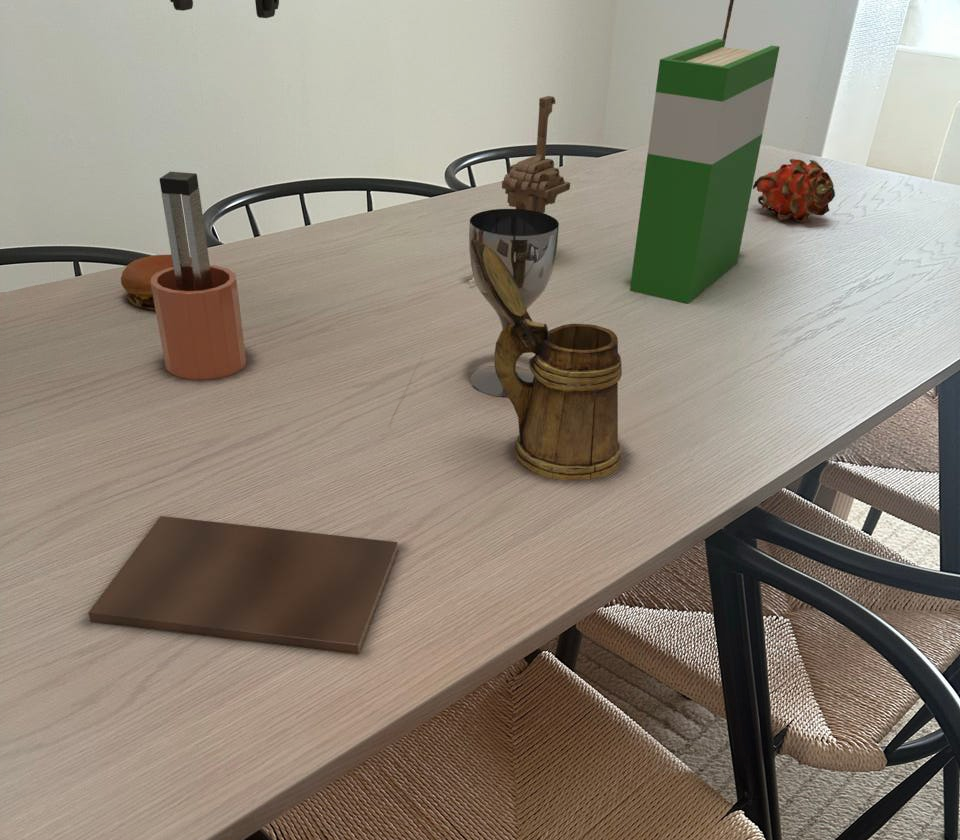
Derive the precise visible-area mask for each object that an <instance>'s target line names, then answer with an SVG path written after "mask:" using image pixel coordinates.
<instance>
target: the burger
mask: <svg viewBox="0 0 960 840" xmlns="http://www.w3.org/2000/svg"><path fill="white" fill-rule="evenodd" d="M190 261H191V256H190ZM191 265H192V261H191ZM170 267H173V261H172V255H171V254H155V255H149V256H145V257H141V258H137V259H134V260H133V261H130V262H129V263H128V264H127V265H126V266H125V268H124V269H123V271H122V273H121V276H120V283H121V284H120V285H121V286H122V288H123V289H124V290H125V291H126V293H127V296H128V297H127V299H128V301H129V302H130V303H131V304H132V305H133V306H135V307H138V308H141V309H144V310H148V311H149V310H151V311H156V310H155V305H154V299H153V293H152V288H151V277H152V276H154V275H155V274H156V273H157V272H160V271H162V270H165V269H167V268H170Z"/></svg>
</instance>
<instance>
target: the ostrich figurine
mask: <svg viewBox="0 0 960 840" xmlns="http://www.w3.org/2000/svg"><path fill="white" fill-rule="evenodd" d="M555 104H556V98H555V96H551V95H546V96H543V97H539V99H538V119H537V120H538V121H537V137H536V151H535V155H534V156H531V157H528V158H525V159H523V160H519V161H518V162H517V163H515V164H512V165H509V166H508V173H505V175H504V176H503V177H504V178H503V180H501V189H503V190H505V191H504V193H505V195H507V201H506V202H507V203H508V207H511V208H515V209H523V210H531V211H536V212H541V213H544V214H546V206H548V205H549V204H550V205H553V204H555V203H556V199H557V197H558V195H560V194H563V193H565V192H567V191H570V188H571V182H570V181H565V179H564V176H562V175H560V170H559V168H557V167H555V162H554V160H553V159H552V158H546V152H547V151H546V150H547V139H548V138H547V136H548V125H549V124H548V123H549V116H550V115H551V113H552V112H553V105H555ZM467 282H468V286H469V287H470V286H473V285H474V284H475V285H476V283H475V280H474V276H472V278H471V279H470V280H468V281H467Z"/></svg>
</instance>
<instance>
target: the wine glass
mask: <svg viewBox="0 0 960 840" xmlns="http://www.w3.org/2000/svg"><path fill="white" fill-rule="evenodd" d="M559 225H560V222H559V221H558V220H557V218H555V217H553V216H552V215H549V214H547V213H541V212H536V211H531V210H523V209H516V208H495V209H487V210H483V211H480V212H477V213H474V215H472V216H471V217H470V219H469V227H468V228H469V229H468V230H469V231H468V245H470V243H471V241H472V239H476V240H478V241H480V242H481V243H483V244H485V245H486V246H488V247H489V248H491V249H492V250H493V251H494V252H495V253H496V254H497V255H498V256H499V257H500V258H501V260H502V261H503V263H504V264H505V265H506V267H507V268H508V270H509V271H510V273H511V275H512V276H513V278H514V280H515V282H516V284H517V285H518V287H519V290H520V292H521V295H522V297H523V299H524V303H525V306H526V310H527V311H528V309H529V308H530V307H531V306H532V305H533V304H534V303H535V302H536V301H537V300H538V299H539V298H540V297H541V296H542V294H543V293H544V292H545V290H546V289H547V287H548V284H549V282H550V281H551V276H552V274H553V270H554V265H555V262H556V257H557V252H558V251H557V250H558V243H559V229H560V228H559V227H560V226H559ZM468 251H469V258H470V266H471V271H472V277H474V280H475V285H476V287H477V289H478V291H479V292H480V294H481V295H482V297H483V298H484V299H485V300H486V301H487V302H488V304H489V305H490V306H491V308H492V309H493V310H494V311H495V313H496V315H497V317H498V319H499V321H500V324H501V331H502V330H503V329H504V328H505V326H506V325H507V323H508V321H507V320H506V319H505V318H504V317H503V316H502V314H501V313H500V312H499V310H498V309H497V307H496V306H495V304H494V303H493V301H492V299H491V298H490V296H489V295H488V293H487V291H486V290H485V288H484V286H483V285H482V283H481V281H480V278H479V276H478V273H477V270H476V267H475V264H474V261H473V257H472V254H471V250H470V246H469V250H468ZM515 371H516V373H517V375H518V377H519V378H520V379H522V380H523V381H526V382H533V378H534V375H533V373H532V371H531V369H530V368H525V367H521V366H517V365H516V368H515ZM469 382H470V384H471V386H472V387H473V388H474V389H475V390H477V391H479V392H481V393H484V394H487V395H490V396H494V397H502V398H508V396H507V394H506V392H505V391H504V389H503V387H502V385H501V383H500V381H499V378H498V376H497V374H496V369H495V365H489V366H485V367H482V368H480V369H477V370H476V371H474V372H473V373H472V374H471V376H470V377H469Z"/></svg>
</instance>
